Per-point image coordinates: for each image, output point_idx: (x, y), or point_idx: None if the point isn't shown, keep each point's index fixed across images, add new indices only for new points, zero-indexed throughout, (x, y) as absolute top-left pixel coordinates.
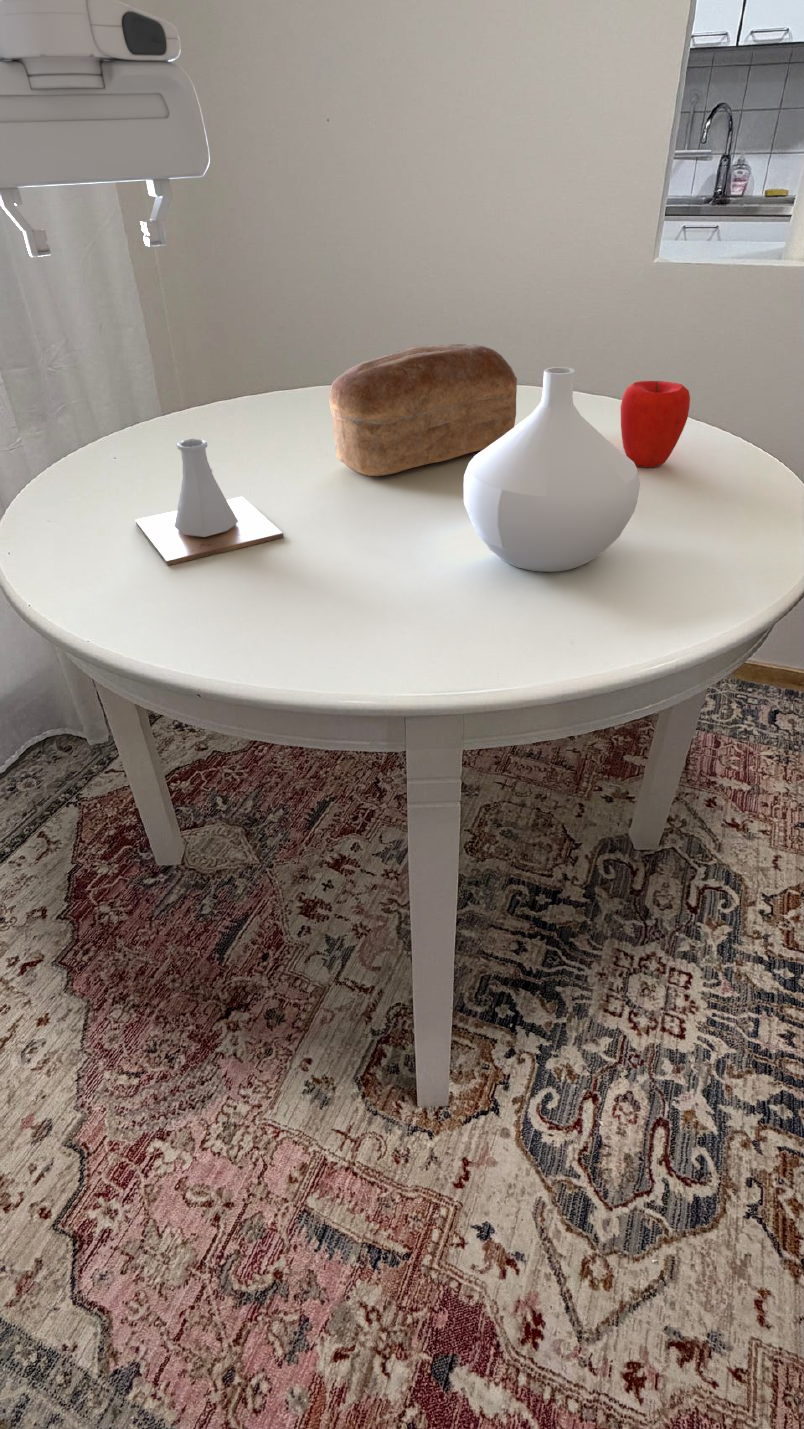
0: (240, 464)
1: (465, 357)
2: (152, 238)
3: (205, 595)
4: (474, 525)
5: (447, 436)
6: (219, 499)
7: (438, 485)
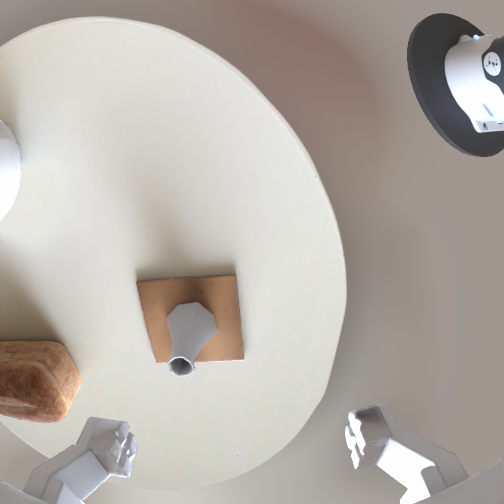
0: (152, 416)
1: None
2: (112, 427)
3: (218, 206)
4: (17, 173)
5: (9, 347)
6: (174, 326)
7: (26, 310)
